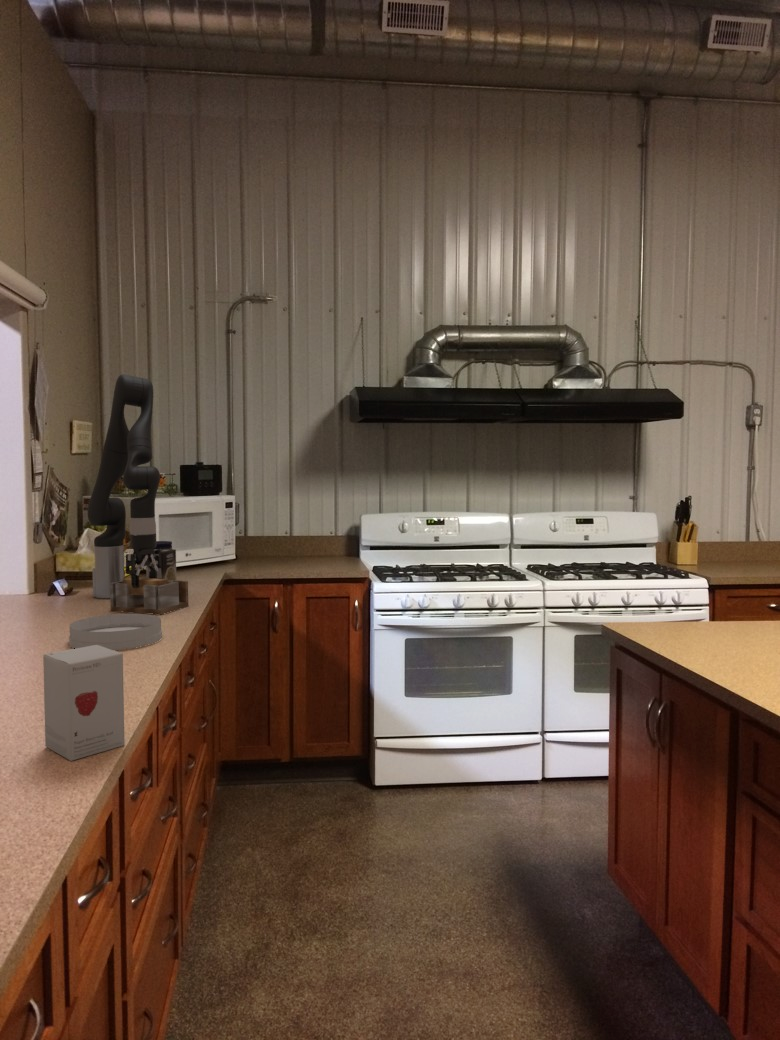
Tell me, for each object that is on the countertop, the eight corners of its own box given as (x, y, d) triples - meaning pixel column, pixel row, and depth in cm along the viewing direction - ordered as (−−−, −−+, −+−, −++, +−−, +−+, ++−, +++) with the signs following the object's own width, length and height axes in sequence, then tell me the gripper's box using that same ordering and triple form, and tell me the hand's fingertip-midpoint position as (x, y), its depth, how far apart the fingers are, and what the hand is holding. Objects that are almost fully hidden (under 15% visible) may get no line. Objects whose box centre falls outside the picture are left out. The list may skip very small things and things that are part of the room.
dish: (92, 631, 199) (91, 613, 198) (174, 632, 198) (173, 613, 198) (52, 652, 177) (51, 631, 176) (144, 653, 176) (143, 632, 176)
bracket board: (110, 611, 225) (109, 583, 224) (139, 603, 238) (139, 576, 238) (161, 614, 219) (160, 586, 219) (188, 606, 233) (187, 579, 232)
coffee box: (164, 601, 241) (163, 552, 240) (146, 600, 242) (144, 551, 241) (177, 596, 250) (176, 549, 249) (160, 596, 251) (159, 548, 250)
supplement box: (70, 762, 110) (67, 663, 109) (44, 747, 116) (40, 653, 115) (127, 745, 117) (124, 652, 116) (99, 732, 123) (96, 643, 122)
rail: (123, 593, 226) (122, 579, 226) (131, 591, 230) (131, 577, 230) (159, 596, 222) (159, 581, 222) (167, 594, 226) (167, 579, 226)
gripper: (147, 530, 233) (148, 581, 234) (117, 534, 219) (118, 588, 220) (167, 530, 230) (169, 582, 231) (138, 534, 217) (140, 590, 218)
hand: (144, 585), depth 226 cm, fingers open, 8 cm apart
